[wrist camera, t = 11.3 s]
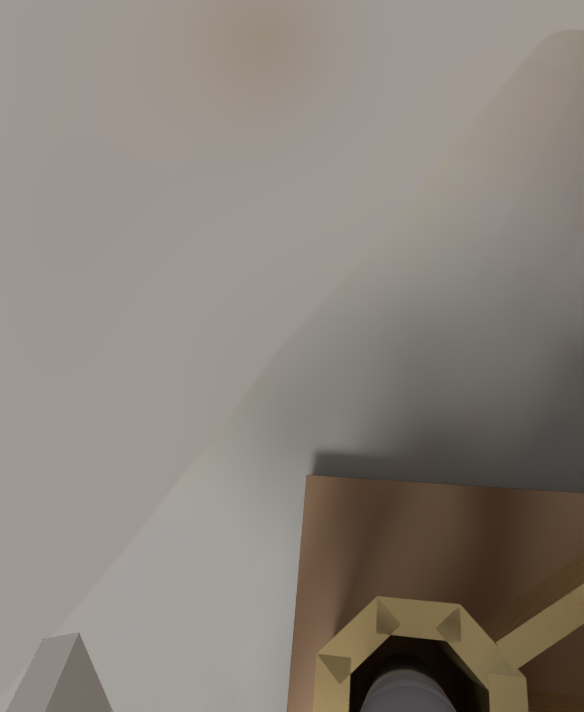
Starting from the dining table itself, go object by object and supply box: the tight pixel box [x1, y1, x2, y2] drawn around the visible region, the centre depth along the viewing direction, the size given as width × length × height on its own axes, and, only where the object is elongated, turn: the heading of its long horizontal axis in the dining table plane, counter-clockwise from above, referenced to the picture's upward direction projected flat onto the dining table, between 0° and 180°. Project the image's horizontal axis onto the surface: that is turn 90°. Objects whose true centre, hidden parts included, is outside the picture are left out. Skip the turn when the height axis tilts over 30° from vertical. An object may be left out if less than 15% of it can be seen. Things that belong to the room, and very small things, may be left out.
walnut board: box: [287, 475, 584, 712], centre depth 22 cm, size 15×16×2 cm
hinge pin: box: [360, 653, 457, 712], centre depth 16 cm, size 2×2×12 cm
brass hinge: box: [313, 554, 584, 712], centre depth 18 cm, size 13×9×7 cm
